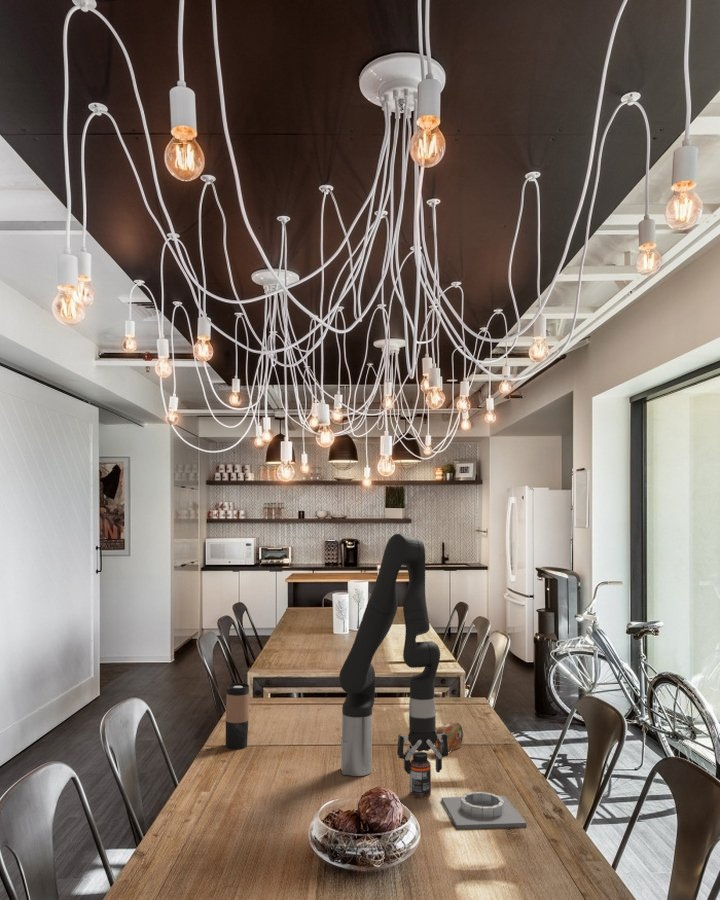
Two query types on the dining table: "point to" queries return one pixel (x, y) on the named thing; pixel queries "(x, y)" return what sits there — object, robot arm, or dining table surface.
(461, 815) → the duct base board
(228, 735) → the travel mug
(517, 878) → the dining table surface
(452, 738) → the tin
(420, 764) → the supplement bottle
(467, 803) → the collar
